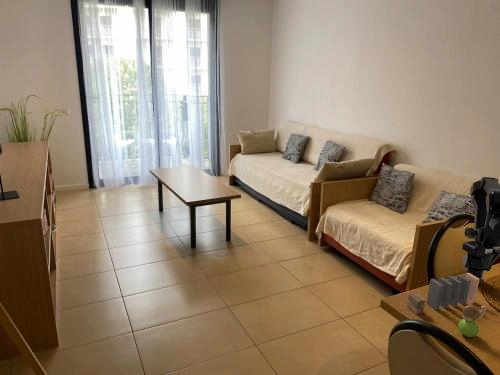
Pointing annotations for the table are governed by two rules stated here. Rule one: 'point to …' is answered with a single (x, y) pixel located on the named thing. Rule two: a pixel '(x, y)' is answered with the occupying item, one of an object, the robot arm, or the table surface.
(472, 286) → the domino
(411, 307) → the stop block
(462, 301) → the domino
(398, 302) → the table surface
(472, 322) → the snail figurine
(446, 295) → the domino
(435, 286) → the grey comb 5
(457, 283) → the domino
